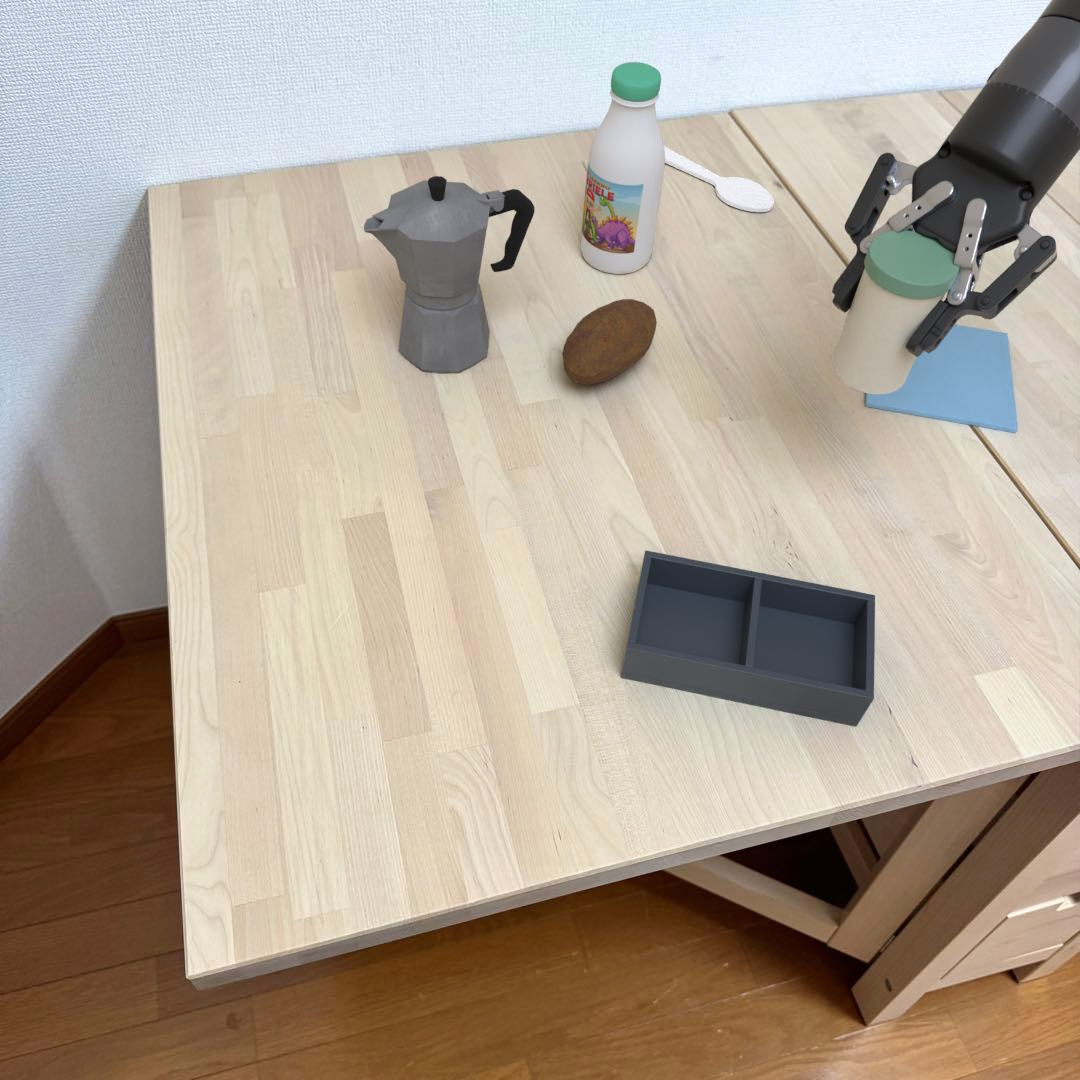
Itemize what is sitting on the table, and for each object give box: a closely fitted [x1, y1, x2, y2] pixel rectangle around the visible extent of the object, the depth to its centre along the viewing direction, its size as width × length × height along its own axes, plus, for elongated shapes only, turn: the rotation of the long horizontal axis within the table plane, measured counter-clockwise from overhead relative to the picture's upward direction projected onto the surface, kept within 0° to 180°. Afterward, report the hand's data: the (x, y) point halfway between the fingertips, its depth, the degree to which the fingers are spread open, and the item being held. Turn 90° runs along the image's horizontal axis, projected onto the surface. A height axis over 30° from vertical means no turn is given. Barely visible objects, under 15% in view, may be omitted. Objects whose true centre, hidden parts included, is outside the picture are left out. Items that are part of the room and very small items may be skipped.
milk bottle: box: [580, 61, 666, 275], centre depth 100 cm, size 8×8×20 cm
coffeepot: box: [363, 175, 536, 374], centre depth 91 cm, size 15×9×18 cm, turn 110°
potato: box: [561, 298, 658, 386], centre depth 94 cm, size 7×12×7 cm, turn 142°
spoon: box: [664, 145, 775, 213], centre depth 117 cm, size 5×18×1 cm, turn 48°
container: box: [830, 231, 959, 394], centre depth 71 cm, size 6×6×10 cm
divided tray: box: [620, 550, 876, 727], centre depth 76 cm, size 9×18×4 cm, turn 78°
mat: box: [865, 324, 1019, 434], centre depth 98 cm, size 14×14×1 cm
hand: (874, 328), depth 70 cm, fingers closed on container, 5 cm apart
